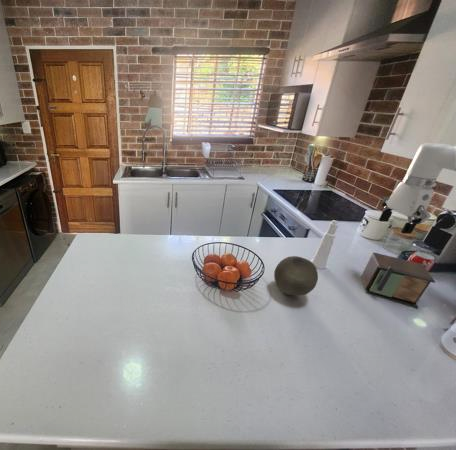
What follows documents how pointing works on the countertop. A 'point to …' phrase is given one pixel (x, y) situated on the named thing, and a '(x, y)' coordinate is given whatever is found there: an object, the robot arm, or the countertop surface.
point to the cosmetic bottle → (325, 246)
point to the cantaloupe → (296, 276)
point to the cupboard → (411, 283)
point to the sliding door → (386, 282)
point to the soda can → (422, 259)
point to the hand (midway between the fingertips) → (393, 226)
